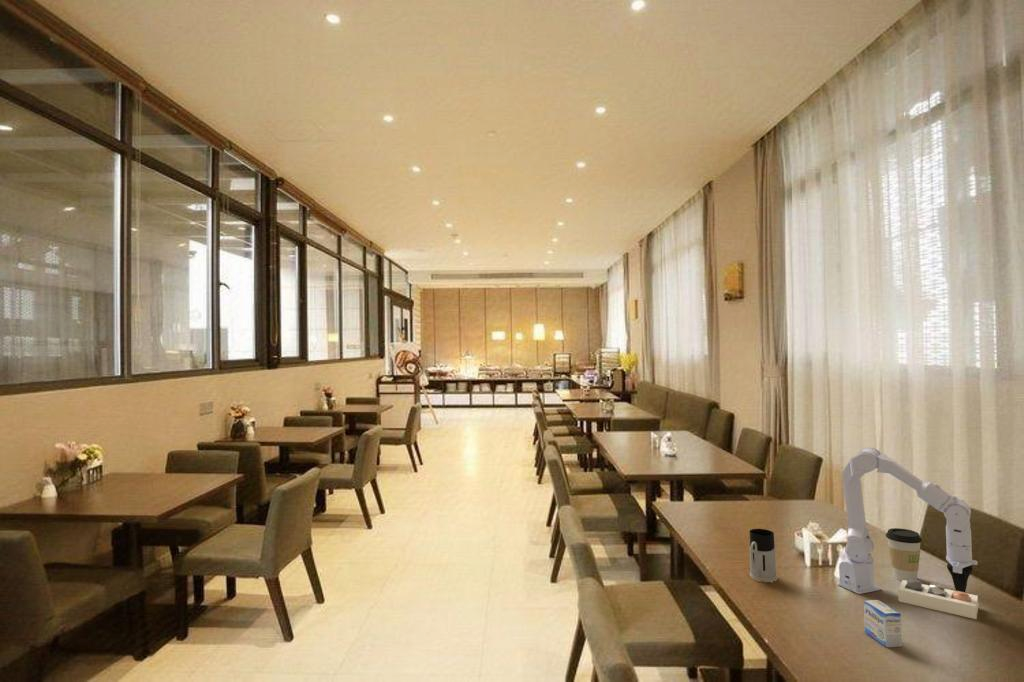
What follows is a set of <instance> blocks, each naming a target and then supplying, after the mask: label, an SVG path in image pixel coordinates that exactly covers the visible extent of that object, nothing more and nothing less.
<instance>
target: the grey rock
mask: <svg viewBox="0 0 1024 682" xmlns="http://www.w3.org/2000/svg"><path fill="white" fill-rule="evenodd" d="M929 587H930V594H934V595H938V596H943V597H945V589H946V587H945V586H944V585H943V584H940V583H936V582H935V583H934V582H930V583H929Z"/></svg>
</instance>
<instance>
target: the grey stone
mask: <svg viewBox="0 0 1024 682" xmlns="http://www.w3.org/2000/svg"><path fill="white" fill-rule="evenodd" d="M922 584H923V583H922V580H919V579H918V578H917V579H907V589H911V590H915V591H920V592H922Z"/></svg>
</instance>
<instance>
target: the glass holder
mask: <svg viewBox="0 0 1024 682" xmlns="http://www.w3.org/2000/svg"><path fill="white" fill-rule="evenodd" d="M749 563H750V564H749V568H750V569H749V570H750V572H749V574H750V576H751V577H752V578H754V579H757V580H760V581H765V582H764V583H766V582H771V581H772V582H771V583H774V582H773V581H775V582H777V581H778V580H777V578H778V577H777V569H776V568H777V563H776V546H775V532H774V531H771V530H769V529H764V528H752V529H750V530H749ZM776 580H777V581H776Z"/></svg>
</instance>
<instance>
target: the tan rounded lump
mask: <svg viewBox="0 0 1024 682" xmlns="http://www.w3.org/2000/svg"><path fill="white" fill-rule="evenodd" d="M953 591H954V592H953V599H957V600H961V601H966V602H969V595H968V594H969V593H967V592H960V591H956V590H953Z"/></svg>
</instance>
